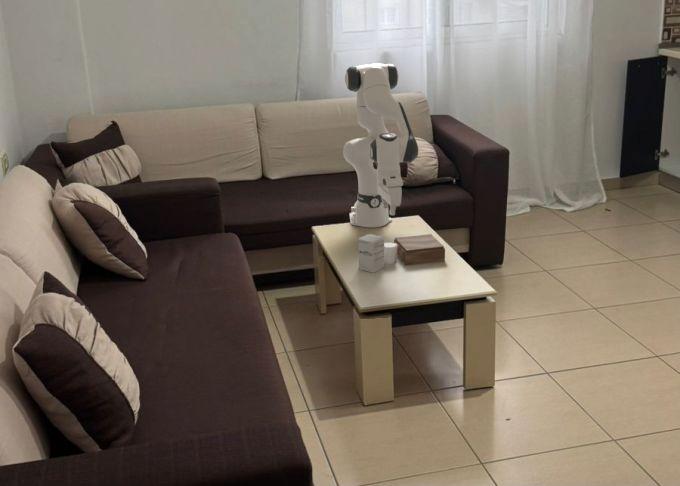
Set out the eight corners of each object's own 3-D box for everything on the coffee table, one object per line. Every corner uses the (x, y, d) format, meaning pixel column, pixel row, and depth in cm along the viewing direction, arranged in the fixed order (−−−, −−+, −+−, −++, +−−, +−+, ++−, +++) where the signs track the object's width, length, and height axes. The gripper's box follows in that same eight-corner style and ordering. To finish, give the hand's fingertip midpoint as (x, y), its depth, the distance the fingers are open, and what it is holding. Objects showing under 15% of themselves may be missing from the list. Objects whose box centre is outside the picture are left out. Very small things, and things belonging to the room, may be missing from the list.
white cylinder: (396, 264, 334) (396, 248, 331) (378, 264, 335) (378, 247, 333) (398, 258, 340) (398, 242, 338) (381, 257, 341) (381, 241, 339)
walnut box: (393, 251, 348) (393, 237, 346) (431, 247, 351) (431, 233, 349) (405, 265, 333) (405, 250, 331) (444, 261, 336) (445, 246, 334)
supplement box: (357, 269, 330) (357, 238, 326) (369, 263, 336) (369, 233, 331) (373, 273, 326) (372, 242, 321) (384, 267, 331) (384, 236, 327)
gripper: (373, 170, 335) (373, 204, 339) (388, 184, 316) (388, 219, 321) (388, 169, 336) (389, 203, 341) (404, 182, 317) (404, 218, 322)
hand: (388, 211), depth 331 cm, fingers open, 8 cm apart
